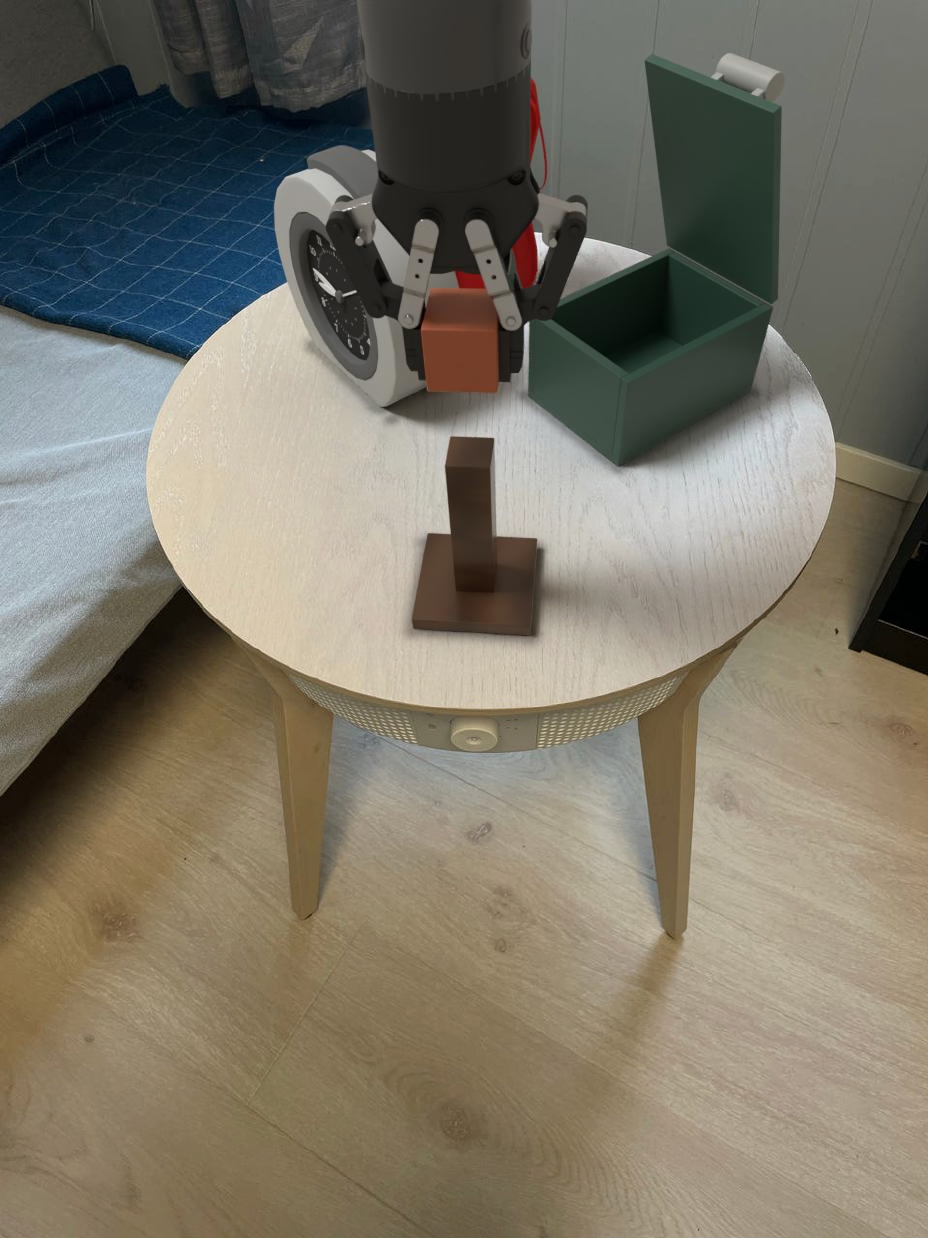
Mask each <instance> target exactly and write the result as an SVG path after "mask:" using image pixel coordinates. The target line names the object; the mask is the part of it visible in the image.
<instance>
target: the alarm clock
mask: <svg viewBox="0 0 928 1238" xmlns="http://www.w3.org/2000/svg"><path fill="white" fill-rule="evenodd" d="M306 162H307V167H308V168H307V169H304V170H302V171H299V172H296V173H293V174H290V175H287V176H285V177H284V178H283V180H282V181H281V183H279V185H278V187H277V189H276V193H275V197H274V198H275V199H274V204H273V215H274V216H273V217H274V218H273V219H274V233H275V237H276V242H277V248H278V253H279V254H278V255H279V258H280V261H281V264H282V268H283V272H284V275H285V279H286V283H287V285H288V288H289V290H290V294H291V295H292V298H293V301H294V304H295V307H296V309H297V311H298V313H299V316H300V317H301V320H302V322H303V325H304V326H305V328H306V330H307V333H308V335H309V338H311V340H312V342H313V344H314V346H315V347H316V349H318V350H319V351H320V352H321V353H322V354H323V355H324V356H326V357H327V358H328V359H329V360H330V361H331V362H332V363H333V364H334V365H335V366H336V367H337V368H338V369H339V370H340V371H342V373H343V374H344V375H346V376H347V377H348V378H349V379H350V380H351V381H352V382H353V383H355V385H356V386H357V387H359V389H360V390H361V391H363V392H364V393H365V394H366V395H367V396H368V398H370V399H371V400H372V401H373V402H375V403H376V405H378V406H379V407H381V408H385V407H388V406H390V405H392V404H394V403H396V402H399V401H401V400H403V399H405V398H407V397H409V396H411V395H413V394H416V393H418V392H419V391H421V390H424V389H427V384H426V381H419V379H418V371H410V369H409V367H408V366H407V364H406V355H405V347H404V339H403V331H402V326H401V325H400V323H399V322H398V321H397V320H395V319H393V318H391V317H388V316H384V317H382V318H378V319H377V318H373V317H371V316H370V315H368V313H367V312H366V310H365V308H364V306H363V304H362V302H361V300H360V298H359V296H358V294H357V292H356V290H355V288H354V286H353V284H352V282H351V280H350V278H349V276H348V274H347V272H346V270H345V268H344V266H343V264H342V262H341V260H340V258H339V256H338V254H337V252H336V250H335V248H334V246H333V244H332V242H331V240H330V238H329V236H328V234H327V231H326V223H327V221H328V218H329V215H330V212H331V210H332V207H333V205H334V204H335V201H336V199H337V198H338V197H339V196H341V195H347V196H350V197H352V198H353V199H354V200H355V199H358V198H361V197H364V196H367V195H370V194H372V193H373V192H374V190H375V187H376V183H377V179H378V170H377V163H376V155H375V151H373V150H370V149H365V150H360V149H358V148H355V147H352V146H348V145H341V144H340V145H335V146H332V147H329V148H327V149H324V150H321V151H318V152H316V153H313V154H311V155H309V156H308V157H307V158H306ZM375 224H376V231H375V234H374V237H373V241H374V243H375V245H376V247H377V249H378V252H379V254H380V256H381V258H382V260H383V262H384V265H385V267H386V269H387V271H388V273H389V276H390V278H391V280H392V282H393V284H396V285H399V286H402V287H404V283H405V278H406V272H407V267H408V262H409V257H410V256H409V255H408V254H407V253H406V251H405V250H404V249H403V248H402V247H401V246H400V244H399V243H398V242H397V241H396V240H395V239H394V237H393V236H392V235H391V234H390V233H389V231H388V230H387V229H386V228H385V227H384V226H383V224H382V223H381V222H380V221H379V220H378V219H376V220H375ZM431 288H459V285H458V282H457V278H456V274H455V271H453V272H449V273H445V274H430V278H429V282H428V287H427V291H426V296H425V307H426V306H427V302H428V298H429V294H430V290H431Z"/></svg>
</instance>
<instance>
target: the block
mask: <svg viewBox="0 0 928 1238" xmlns="http://www.w3.org/2000/svg"><path fill="white" fill-rule="evenodd" d="M499 321H500V320H499V317H498V314H497V311H496V309H495V306H494V303H493V300H492V298H490V297H489V295H488V293H487V290H486V289H460V288H431V290H430V294H429V298H428V302H427V306H426V310H425V315H424V319H423V323H422V327H421V336H422V346H423V355H424V365H425V375H426V384H427V387H426V390H427V392H436V393H437V392H439V393H475V394H477V393H478V394H498V392H499V386H500V382H499V351H498V328H499Z"/></svg>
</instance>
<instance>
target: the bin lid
mask: <svg viewBox="0 0 928 1238" xmlns="http://www.w3.org/2000/svg"><path fill="white" fill-rule="evenodd" d="M644 69H645V76H646V83H647V93H648V101H649V110H650V117H651V126H652V131H653V132H652V134H653V141H654V150H655V159H656V167H657V175H658V176H657V177H658V183H659V191H660V200H661V201H660V202H661V209H662V217H663V225H664V233H665V241H666V242H665V243H666V246H667V247H669V248H670V249H671V250H673V251H675V252H677V253H679V254H680V255H682V256H684V257H686V258H687V259H689V260H691V261H693V262H695V263H696V264H698V265H700V266H702V267H703V268H705V269H707V270H709V271H710V272H712V273H714V274H716V275H718V276H719V277H721V278H723V279H725V280H726V281H728V282H730V283H732V284H734V285H735V286H737V287H739V288H741V289H742V290H744V291H746V292H748V293H749V294H751V295H753V296H755V297H757V298H758V299H760V300H762V301H764V302H765V303H767V304H769V305H773V304H774V303H775V302H777V301H778V300H779V268H780V267H779V266H780V219H781V217H780V216H781V213H780V212H781V173H782V172H781V170H782V169H781V164H782V162H781V161H782V120H783V119H782V118H783V117H782V115H783V112H782V111H783V107H782V105H780V104H777V103H775V101H776V100H777V99H778V98H779V96H781V94H782V93H783V89H784V86H785V83H786V76H785V74H784V72H783V71H780V70H777V69H774V68H772V67H769V66H766V65H764V64H761V63H758V62H756V61H753V60H750V59H747V58H745V57H742V56H740V55H737V54H736V53H735V54H734V53H732V52H727V53H726V54H724V55H723V56H722V57H721V58H720V60H719V61H718V63H717V65H716V69H715V73H713V74H712V75H711V76H708V75H705V74H703V73H701V72H698V71H696V70H693V69H691V68H688V67H686V66H683V65H681V64H678V63H676V62H673V61H671V60H669V59H666V58H663V57H661V56H658V55H656V54H653V53H650V54H649V55H648V56H647V57H646V58H645V59H644Z"/></svg>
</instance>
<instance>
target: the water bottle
mask: <svg viewBox="0 0 928 1238" xmlns="http://www.w3.org/2000/svg"><path fill="white" fill-rule="evenodd" d="M541 120H542V118H541V112H540V105H539V97H538V89H537V84H536V82H535V81H534V79H533V77H531V105H530V166H531V164H532V160H533V156H534V151H535V146H536V143H537V138H538V134H540V139H541V145H542V152H543V162H544V180H543V184H542V186H541V187H539V190H542V189H543V188H544V187H545V185H546V183H547V179H548V160H547V151H546V144H545V138H544V133H543V127H542V123H541V122H542V121H541ZM536 239H537V238H536V234H535V229H534V223H533V221H532V222H531V223H530V225H529V226H528V227H527V229H526V230H525V231H524V233H523V234H522V235H521V237H520V238H519V239H518V241H517V242H516V243H515V245H514V246H513V247H512V249H513V253H514V256H515V261H516V269H517V272H518V276H519V279H520V282H521V285H522V288H526V287H529V286H532V285H535V281H536V278H537V274H538V271H539V257H538V256H539V255H538V254H539V253H538V245H537V240H536ZM455 274H456V278H457V282H458V285H459V288H460V289H486V287H485V284H484V281H483V279H482V276H481V275H479V274H468V273H465V272H461V271H455Z"/></svg>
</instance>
